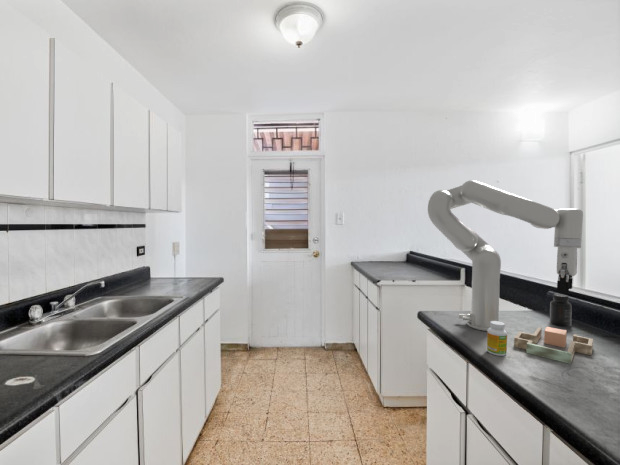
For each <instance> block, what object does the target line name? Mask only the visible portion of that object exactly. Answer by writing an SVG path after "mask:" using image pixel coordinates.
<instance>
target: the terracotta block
mask: <svg viewBox="0 0 620 465" xmlns="http://www.w3.org/2000/svg"><path fill="white" fill-rule="evenodd" d="M567 333H568V330H567V329H562V328H561V329H560V328H555V327H550V326H546V327H545V329H544V333H543V335H544V337H543V344H547V345H550V346H555V347H560V348H565V347H566V344H567V336H568V335H567Z"/></svg>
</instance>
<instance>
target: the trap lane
mask: <svg viewBox="0 0 620 465" xmlns="http://www.w3.org/2000/svg"><path fill="white" fill-rule="evenodd" d="M542 330H543V329H542V327H540V326H538V327H537V328H536V330H535V331H534V333H528V332H524V331H518V332H517V334H515V336H514V339H513V347H515V348H518V349H519V348H520V349H523V350H526V354H530V355H534V356H538V357H543V358H546V359H549V360H554V361H559V362H562V363H566V364H569V365H571V364H572V362H573V359H574V355H575V353H579V354H583V355H589V356H592V354H593V348H594V338H590V337H584V336H580V335H578V334H575V333H574V334H573V335H572V340H570V344H569V346H568V349H567V351H565V350H560V349H557V348H552V347H547V346H544V345H539V344H537V343H538V342H539V340H540V339H541V338H542Z"/></svg>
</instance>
